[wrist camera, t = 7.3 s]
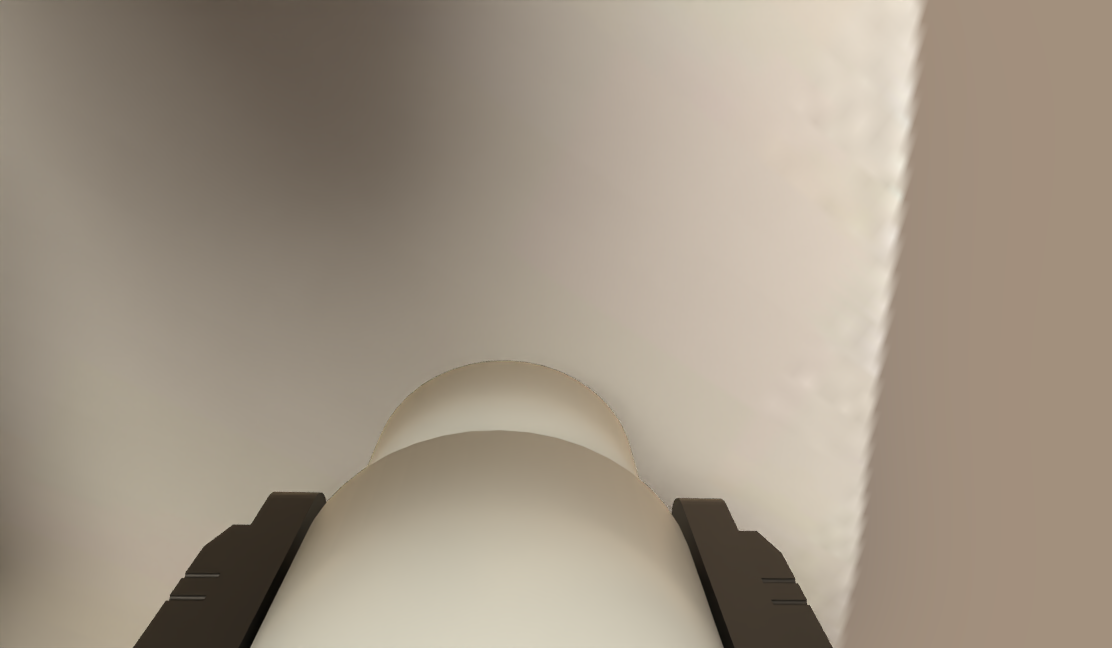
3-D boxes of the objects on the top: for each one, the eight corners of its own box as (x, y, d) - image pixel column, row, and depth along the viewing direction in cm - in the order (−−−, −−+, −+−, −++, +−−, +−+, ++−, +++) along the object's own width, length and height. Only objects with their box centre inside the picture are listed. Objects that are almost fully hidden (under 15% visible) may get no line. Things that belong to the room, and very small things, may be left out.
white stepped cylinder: (669, 343, 12) (894, 749, 4) (641, 602, 13) (766, 1176, 6) (341, 334, 11) (27, 755, 4) (359, 600, 13) (164, 1201, 6)
